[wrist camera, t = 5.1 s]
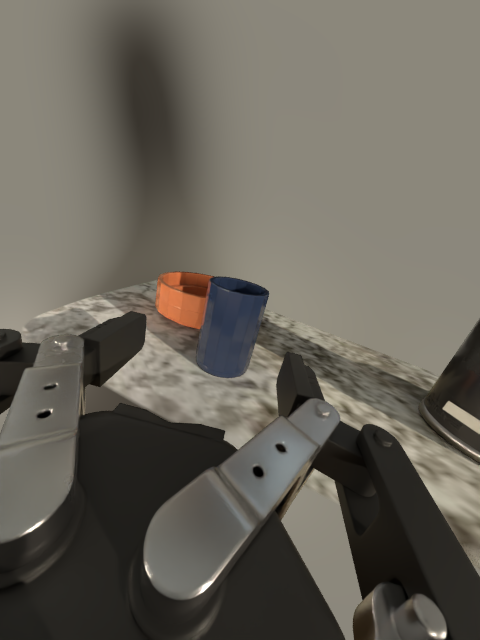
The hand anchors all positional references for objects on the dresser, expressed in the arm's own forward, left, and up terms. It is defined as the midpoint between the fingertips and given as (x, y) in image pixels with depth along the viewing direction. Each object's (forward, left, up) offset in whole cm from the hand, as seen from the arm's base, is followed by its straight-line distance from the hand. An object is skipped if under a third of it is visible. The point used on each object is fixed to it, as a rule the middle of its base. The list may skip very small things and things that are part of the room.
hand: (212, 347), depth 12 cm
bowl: (+6, -23, -8) cm, 25 cm away
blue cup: (0, -11, -8) cm, 13 cm away
